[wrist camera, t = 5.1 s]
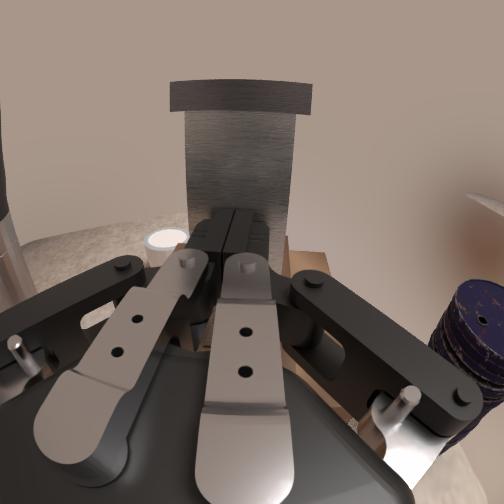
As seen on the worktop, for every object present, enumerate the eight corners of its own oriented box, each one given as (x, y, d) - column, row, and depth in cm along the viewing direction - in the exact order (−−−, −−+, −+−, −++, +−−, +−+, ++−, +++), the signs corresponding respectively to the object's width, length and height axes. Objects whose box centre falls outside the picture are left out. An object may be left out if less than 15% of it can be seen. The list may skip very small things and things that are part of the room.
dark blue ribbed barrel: (442, 378, 26) (504, 276, 19) (469, 443, 18) (560, 348, 10) (373, 391, 26) (432, 278, 18) (394, 471, 18) (497, 380, 10)
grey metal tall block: (191, 347, 16) (169, 81, 9) (202, 307, 19) (194, 84, 12) (280, 355, 16) (312, 84, 9) (279, 313, 19) (302, 87, 12)
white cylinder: (152, 267, 45) (146, 228, 41) (194, 264, 46) (191, 224, 42) (148, 294, 39) (139, 251, 35) (195, 291, 40) (192, 248, 36)
